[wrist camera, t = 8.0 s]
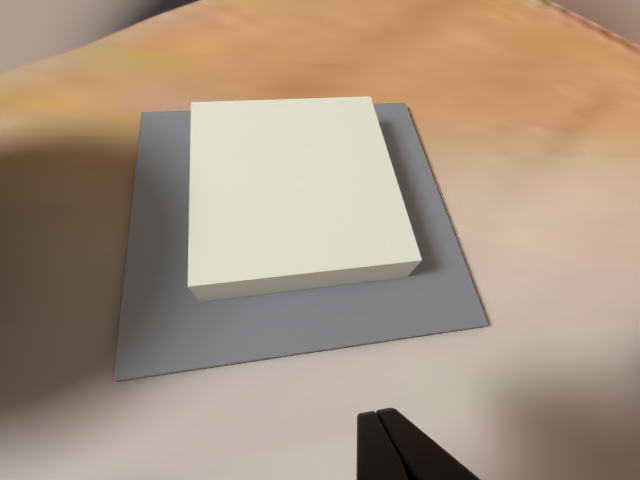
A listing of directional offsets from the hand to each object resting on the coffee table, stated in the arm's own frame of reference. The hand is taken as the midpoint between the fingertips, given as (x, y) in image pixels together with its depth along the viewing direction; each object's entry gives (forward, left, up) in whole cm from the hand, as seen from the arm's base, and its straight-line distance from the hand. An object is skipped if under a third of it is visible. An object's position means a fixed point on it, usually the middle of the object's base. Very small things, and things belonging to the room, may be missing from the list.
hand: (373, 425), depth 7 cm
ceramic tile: (+7, -1, -9) cm, 11 cm away
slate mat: (+12, -2, -11) cm, 16 cm away
